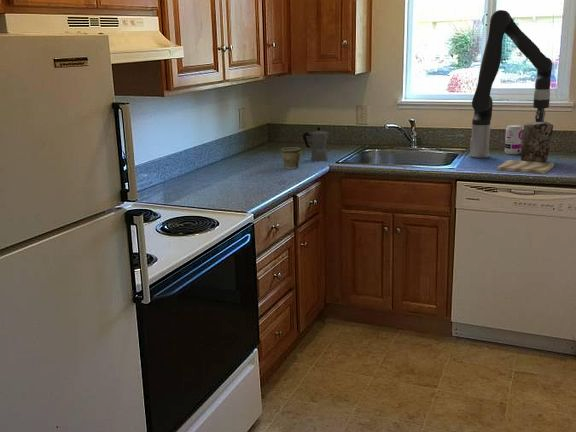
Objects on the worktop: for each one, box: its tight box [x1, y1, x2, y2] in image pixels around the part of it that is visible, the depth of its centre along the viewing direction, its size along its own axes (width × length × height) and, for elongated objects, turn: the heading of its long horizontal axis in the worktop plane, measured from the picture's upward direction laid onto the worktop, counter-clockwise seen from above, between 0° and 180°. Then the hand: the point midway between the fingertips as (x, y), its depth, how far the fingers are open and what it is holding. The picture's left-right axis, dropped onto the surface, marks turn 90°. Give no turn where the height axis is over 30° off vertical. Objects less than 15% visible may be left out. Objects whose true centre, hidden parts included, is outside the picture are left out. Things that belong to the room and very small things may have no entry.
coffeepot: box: [302, 126, 331, 162], centre depth 340 cm, size 15×9×18 cm, turn 99°
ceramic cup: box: [280, 146, 305, 170], centre depth 321 cm, size 13×10×10 cm
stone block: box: [520, 121, 554, 162], centre depth 316 cm, size 13×7×20 cm, turn 108°
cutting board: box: [496, 159, 555, 175], centre depth 305 cm, size 22×20×2 cm
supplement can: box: [504, 124, 523, 155], centre depth 342 cm, size 8×8×15 cm
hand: (539, 132), depth 322 cm, fingers closed
